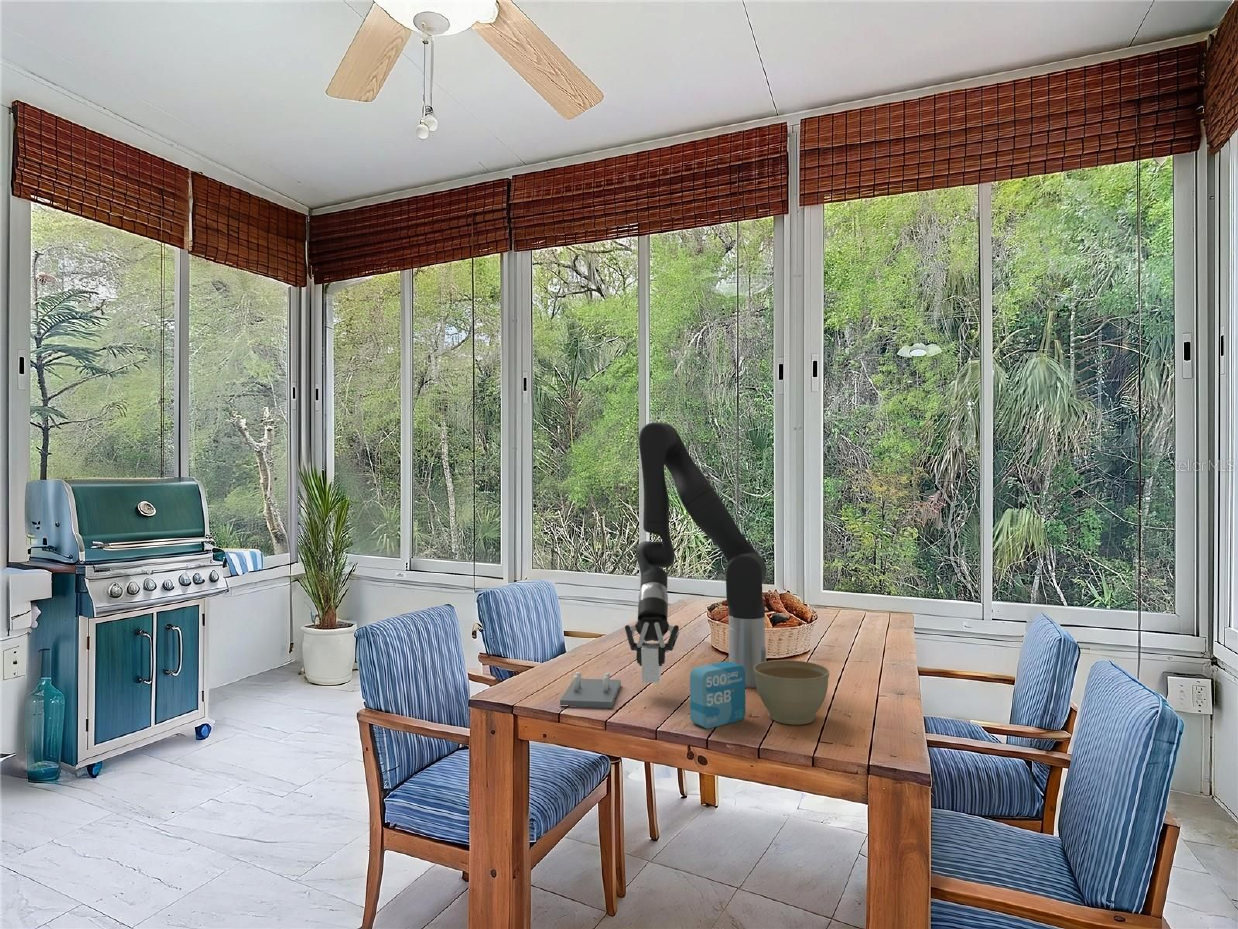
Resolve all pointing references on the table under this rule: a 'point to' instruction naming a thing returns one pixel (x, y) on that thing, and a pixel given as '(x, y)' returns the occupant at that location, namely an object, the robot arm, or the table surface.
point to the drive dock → (591, 692)
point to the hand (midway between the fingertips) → (650, 664)
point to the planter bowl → (791, 689)
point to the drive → (650, 663)
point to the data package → (717, 694)
